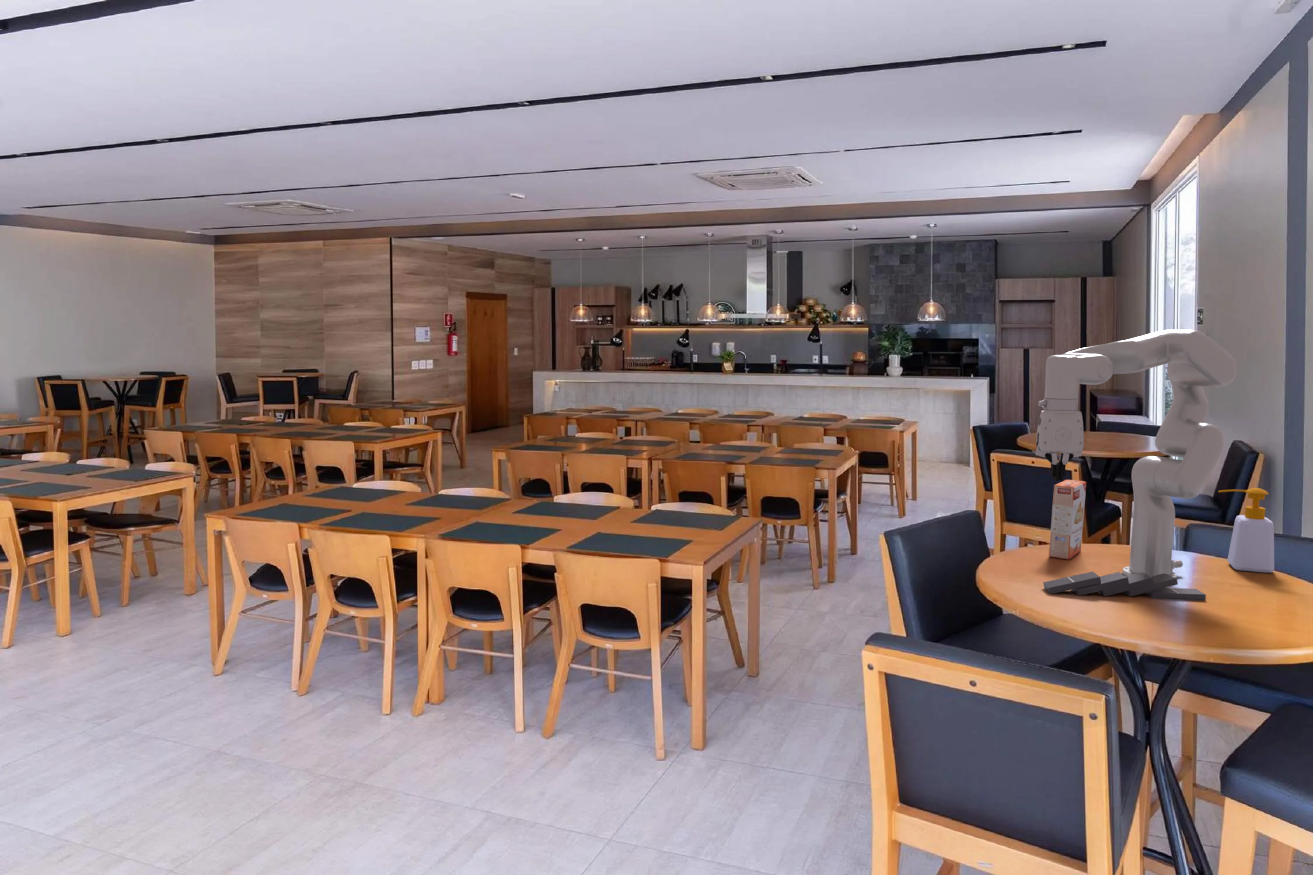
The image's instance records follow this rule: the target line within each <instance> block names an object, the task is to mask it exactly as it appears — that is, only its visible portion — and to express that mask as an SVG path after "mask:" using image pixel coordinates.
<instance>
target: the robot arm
mask: <svg viewBox="0 0 1313 875" xmlns="http://www.w3.org/2000/svg"><path fill="white" fill-rule="evenodd" d="M1164 365H1167V367H1166V374H1167V378H1168V379H1169V382H1170V385H1171V389H1172V393H1173V396H1172V398H1173V399H1172V402H1171V404H1170V407H1169V410H1168V411H1167V413H1166V416H1165V417H1164V419H1163V421H1162V424H1161V425H1160V428H1159V429H1158V431H1157V432H1156V433H1157V434H1156V436H1155V440H1154V445H1155V446H1154V447H1155V448H1156V450H1157V451H1158V452H1160V453H1161V454H1163V455H1167V456H1172V457H1177V459H1176V458H1171V457H1166V456H1165V457H1164V456H1159V455H1156V456H1155V455H1148V456H1144V457H1141V458H1139V459H1138V460H1137V461H1136V462H1135V463H1134V464H1133V466H1132V469H1131V483H1132V484H1131V485H1132V489H1133V490H1132V491H1133V514H1132V524H1131V525H1132V527H1131V540H1130V554H1129V565H1128V566H1125V567H1123V568H1122V574H1123V575H1125V576H1130V575H1134V574H1138V573H1142V572H1143V573H1145V574H1147V575H1149V576H1150V577H1152V576H1156V575H1160V574H1163V573H1165V574H1167V575H1170V576H1172V577H1175V578H1177V579H1178V575H1177V573H1175V572H1173V570H1174V569H1175V568H1176V569H1179V568H1182V567H1183V566H1184V563H1183V561H1182V560H1180V559H1178V560H1174V559H1172V557H1173V556H1172V555H1173V545H1174V532H1175V531H1174V530H1175V519H1176V510H1175V509H1176V508H1175V505H1174V502H1173V499H1172V497H1173V498H1178V499H1185V500H1191V499H1194V498H1197V496H1199V495H1200V494H1201V493H1202V492H1203V490H1204V489H1205V487H1206V485H1207V483H1208V481H1209V479H1210V477H1211V475H1212V473H1213V472H1214V469H1215V468H1216V465H1217V463H1218V461H1219V459H1220V458H1221V454H1222V453H1223V450H1224V444H1225V443H1224V442H1225V440H1224V434H1223V432H1222V430H1221V429H1220V428H1219V427H1218V426H1216V425H1214V424H1211V423H1207V422H1205V420H1206V418H1207V415H1208V413H1209V409H1210V405H1209V403H1210V402H1209V400H1208V397H1207V394H1206V393H1205V390H1204V387H1211V388H1212V387H1213V388H1222V387H1227V386H1229V385H1230V384H1231V383H1232V382H1234V380H1235V379H1236V377H1237V375H1238V366H1237V365H1238V364H1237V363H1236V360H1235V357H1233V356H1232V355H1231V354H1230V353H1229V352H1228V351H1227V350H1226V349H1225V348H1223V347H1222V346H1221V345H1220V344H1218V342H1217V341H1215V340H1213V338H1211V337H1210V336H1208V335H1207V334H1205V333H1204V332H1201V331H1200V330H1196V329H1164V330H1158V331H1154V332H1150V333H1147V334H1144V335H1140V336H1136V337H1132V338H1128V339H1125V340H1118V341H1112V342H1109V343H1103V344H1097V345H1091V346H1087V347H1082V348H1078V349H1075V350H1071V351H1068V352H1064V353H1063V354H1054V355H1050V356H1048V357H1047V359H1046V362H1045V380H1044V381H1045V384H1044V397H1043V400H1039V401H1038V403H1037V405H1038V407H1042V408H1043V410H1041V411H1040V414H1039V419H1038V424H1037V429H1036V437H1035V438H1036V440H1035V446H1036V450H1035V452H1034V453H1035V456H1039V457H1042V458H1045V459H1046V460H1047V461H1048V462H1049V463H1050V477H1051V478H1052V480H1053V481H1055V482H1058V481H1061V482H1063V481H1064V478H1065V477H1066V465H1067V464H1068V463H1069V462H1070V461H1071V460H1072V459H1073V458H1079V457H1082V456H1083V451H1084V448H1085V447H1084V446H1085V437H1084V436H1085V432H1084V421H1083V414H1082V411H1080V410H1079V411H1078V409H1079V388H1080V384H1081V385H1088V386H1089V385H1093V386H1095V385H1098V386H1099V385H1102V384H1103V383H1106V382H1108V381H1109V380H1110V379H1111V378H1112V376H1113V375H1124V374H1125V375H1126V374H1135V373H1139V372H1142V371H1146V370H1149V369H1153V368H1156V367H1159V366H1164ZM1058 453H1059V458H1058ZM1178 458H1182V459H1178Z"/></svg>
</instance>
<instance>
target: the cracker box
mask: <svg viewBox="0 0 1313 875" xmlns="http://www.w3.org/2000/svg"><path fill="white" fill-rule="evenodd" d="M1086 489H1087V481H1084V480H1073V479H1064V480H1063V481H1061V482H1058V483H1056V484H1054V485H1053V493H1052V494H1053V496H1052V497H1053V498H1052V507H1051V508H1052V509H1051V524H1050V535H1049V537H1050V538H1049V548H1048V549H1049V550H1048V557H1049V558H1054V559H1060V560H1061V559H1062V560H1068V561H1069V560H1071V559H1072V558H1073V557H1075V556H1076V555H1077V554H1079V553H1080V552H1082V539H1083V528H1084V515H1085V504H1086V503H1085V501H1086Z"/></svg>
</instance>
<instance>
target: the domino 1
mask: <svg viewBox="0 0 1313 875" xmlns="http://www.w3.org/2000/svg"><path fill="white" fill-rule="evenodd" d="M1042 583H1043V588H1044V589H1045V591H1047V593H1048V594H1049V595H1053V594H1058V593H1062V592H1065V591H1072V589H1076V588H1081V587H1086V586H1090V585H1095V584H1100V583H1101V580H1100V576H1099V574H1097V573H1096V572H1094V571H1090V572H1085V573H1084V572H1083V573H1079V574H1076V575H1074V574H1073V575H1071V576H1066V577H1061V578H1060V577H1059V578H1057V579H1052V580H1048V581H1047V580H1046V581H1044V582H1042Z"/></svg>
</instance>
